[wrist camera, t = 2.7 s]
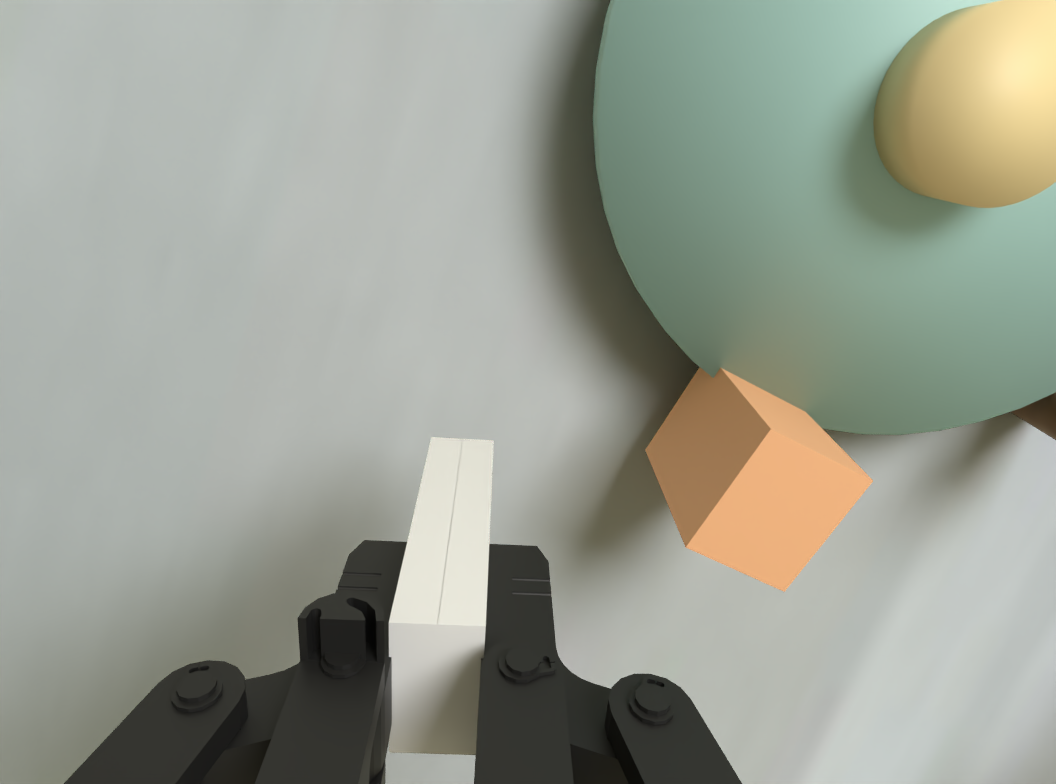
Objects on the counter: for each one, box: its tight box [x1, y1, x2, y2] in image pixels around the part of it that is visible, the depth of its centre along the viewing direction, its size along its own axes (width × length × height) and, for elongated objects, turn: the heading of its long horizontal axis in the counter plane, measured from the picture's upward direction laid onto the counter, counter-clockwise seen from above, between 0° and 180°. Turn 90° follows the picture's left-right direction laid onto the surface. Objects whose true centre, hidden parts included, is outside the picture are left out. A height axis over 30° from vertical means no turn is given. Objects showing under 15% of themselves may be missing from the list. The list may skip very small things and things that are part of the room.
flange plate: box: [593, 0, 1056, 592], centre depth 17 cm, size 18×21×5 cm
